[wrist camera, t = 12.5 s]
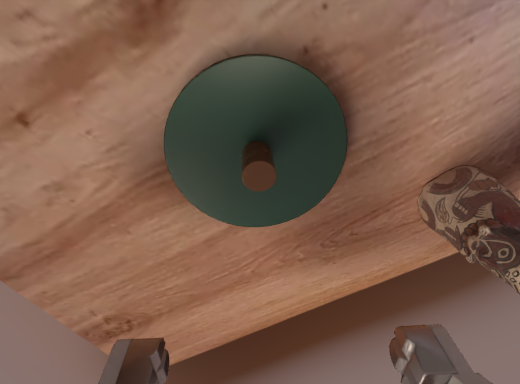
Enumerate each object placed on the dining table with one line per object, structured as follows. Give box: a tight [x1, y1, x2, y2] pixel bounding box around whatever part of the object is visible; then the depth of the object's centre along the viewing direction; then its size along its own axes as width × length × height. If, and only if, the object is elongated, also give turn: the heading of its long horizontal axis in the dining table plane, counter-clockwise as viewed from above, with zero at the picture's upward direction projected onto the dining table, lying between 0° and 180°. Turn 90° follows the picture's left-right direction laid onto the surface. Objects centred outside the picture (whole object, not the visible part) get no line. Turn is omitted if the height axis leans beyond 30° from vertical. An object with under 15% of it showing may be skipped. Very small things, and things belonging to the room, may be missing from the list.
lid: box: [164, 54, 347, 227], centre depth 24 cm, size 16×16×5 cm
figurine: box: [417, 166, 520, 294], centre depth 25 cm, size 7×7×12 cm
